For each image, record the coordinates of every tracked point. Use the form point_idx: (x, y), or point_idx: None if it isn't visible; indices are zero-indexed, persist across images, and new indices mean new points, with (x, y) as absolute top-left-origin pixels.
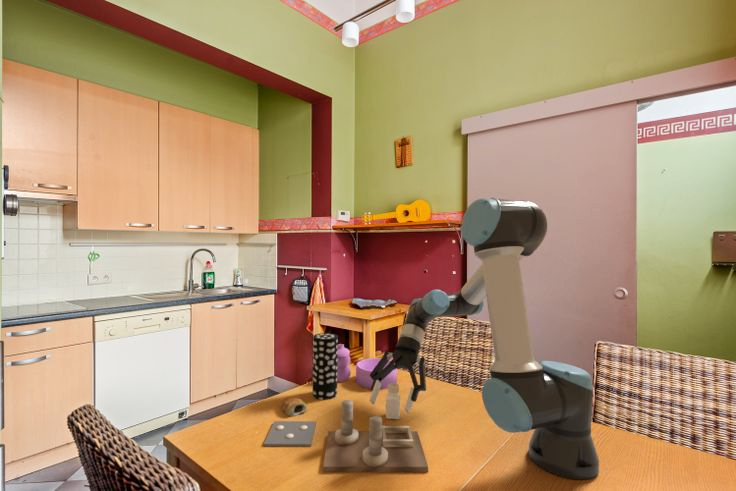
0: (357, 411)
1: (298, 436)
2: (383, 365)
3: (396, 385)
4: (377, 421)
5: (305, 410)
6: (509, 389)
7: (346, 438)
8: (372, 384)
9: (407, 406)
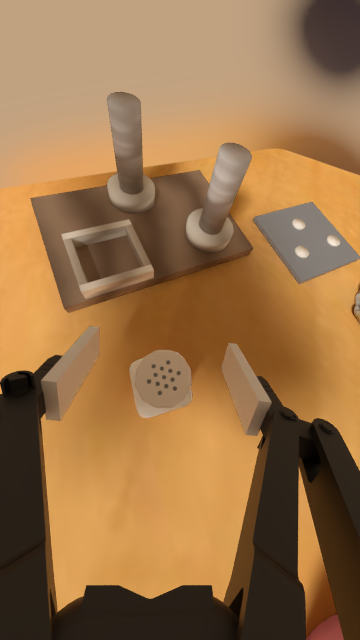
0: (260, 374)
1: (287, 228)
2: (343, 576)
3: (147, 382)
4: (116, 94)
5: (356, 312)
6: None
7: (201, 210)
8: (274, 394)
9: (87, 329)
